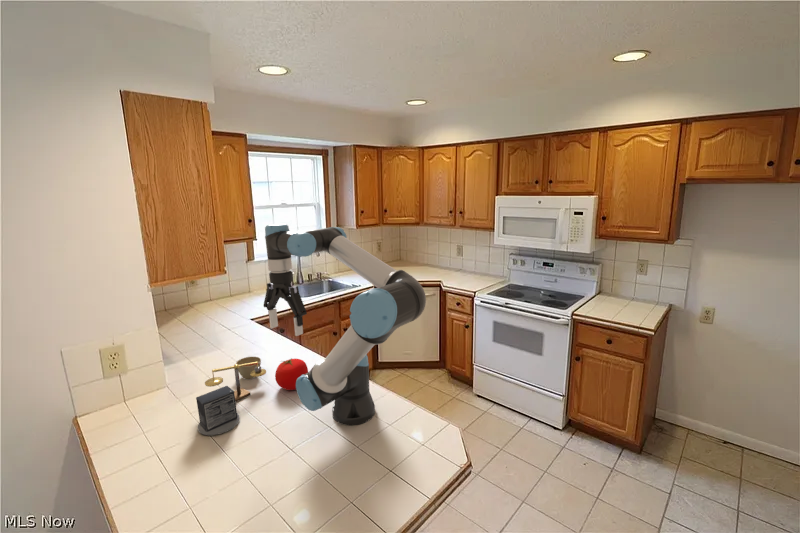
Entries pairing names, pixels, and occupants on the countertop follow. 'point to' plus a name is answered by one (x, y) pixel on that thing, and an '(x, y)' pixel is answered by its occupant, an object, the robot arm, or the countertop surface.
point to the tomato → (290, 373)
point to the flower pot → (248, 369)
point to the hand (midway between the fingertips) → (286, 330)
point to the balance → (240, 392)
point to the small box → (216, 408)
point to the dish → (219, 428)
